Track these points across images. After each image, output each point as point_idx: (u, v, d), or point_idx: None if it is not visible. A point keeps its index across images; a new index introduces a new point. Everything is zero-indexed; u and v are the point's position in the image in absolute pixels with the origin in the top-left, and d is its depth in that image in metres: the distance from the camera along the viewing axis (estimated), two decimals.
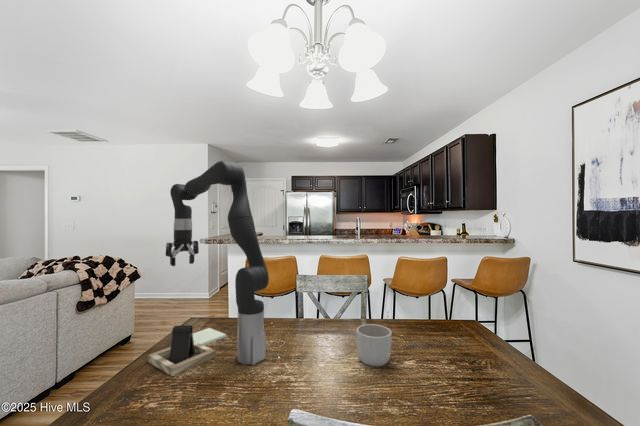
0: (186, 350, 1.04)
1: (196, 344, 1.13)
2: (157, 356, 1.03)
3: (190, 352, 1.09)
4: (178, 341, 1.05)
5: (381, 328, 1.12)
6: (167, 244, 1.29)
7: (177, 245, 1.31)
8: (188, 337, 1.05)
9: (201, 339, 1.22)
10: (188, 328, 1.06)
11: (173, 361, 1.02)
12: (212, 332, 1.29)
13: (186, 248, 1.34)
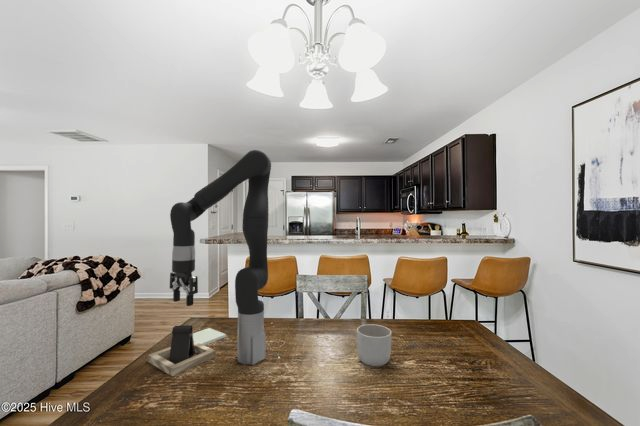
0: (186, 350, 1.04)
1: (196, 344, 1.13)
2: (157, 356, 1.03)
3: (190, 352, 1.09)
4: (178, 341, 1.05)
5: (381, 328, 1.12)
6: (193, 279, 1.03)
7: None
8: (188, 337, 1.05)
9: (201, 339, 1.22)
10: (188, 328, 1.06)
11: (173, 361, 1.02)
12: (212, 332, 1.29)
13: None
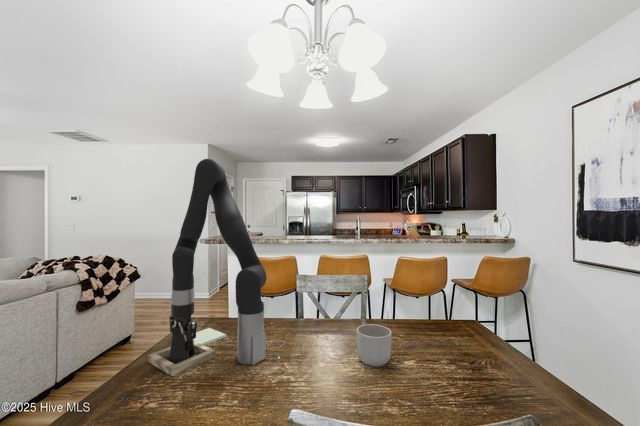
0: None
1: (196, 344, 1.13)
2: (157, 356, 1.03)
3: (190, 352, 1.09)
4: (178, 341, 1.05)
5: (381, 328, 1.12)
6: (192, 325, 1.03)
7: None
8: None
9: (201, 339, 1.22)
10: None
11: (173, 361, 1.02)
12: (212, 332, 1.29)
13: None
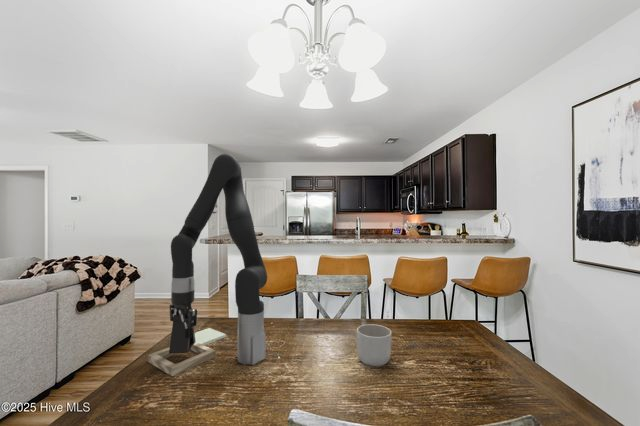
0: (187, 338, 1.04)
1: (196, 344, 1.13)
2: (157, 356, 1.03)
3: (191, 340, 1.09)
4: (178, 329, 1.04)
5: (381, 328, 1.12)
6: (193, 313, 1.02)
7: None
8: None
9: (201, 339, 1.22)
10: (188, 316, 1.06)
11: (174, 349, 1.02)
12: (212, 332, 1.29)
13: None
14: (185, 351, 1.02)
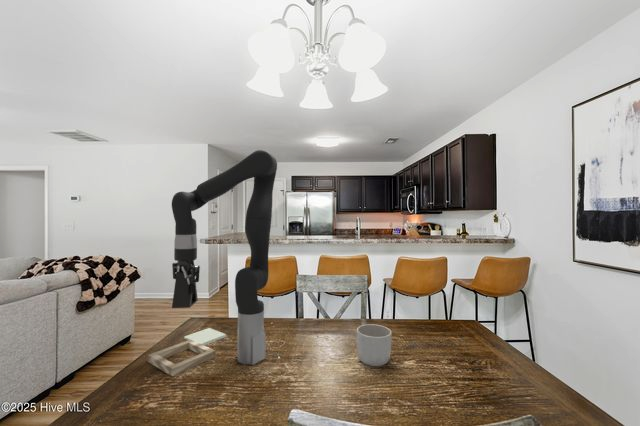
0: None
1: (196, 344, 1.13)
2: (157, 356, 1.03)
3: (193, 298, 1.11)
4: (181, 285, 1.06)
5: (381, 328, 1.12)
6: (195, 268, 1.04)
7: None
8: None
9: (201, 339, 1.22)
10: None
11: (176, 303, 1.04)
12: (212, 332, 1.29)
13: None
14: (188, 306, 1.04)
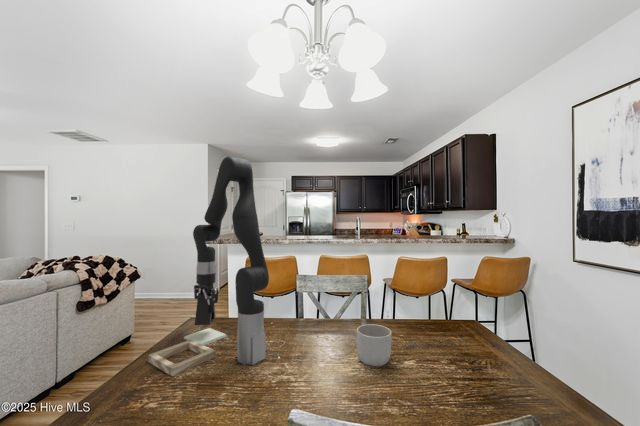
0: None
1: (196, 344, 1.13)
2: (157, 356, 1.03)
3: (212, 316, 1.28)
4: (202, 305, 1.23)
5: (381, 328, 1.12)
6: (215, 291, 1.21)
7: None
8: None
9: (201, 339, 1.22)
10: None
11: (198, 321, 1.21)
12: (212, 332, 1.29)
13: None
14: (208, 323, 1.21)
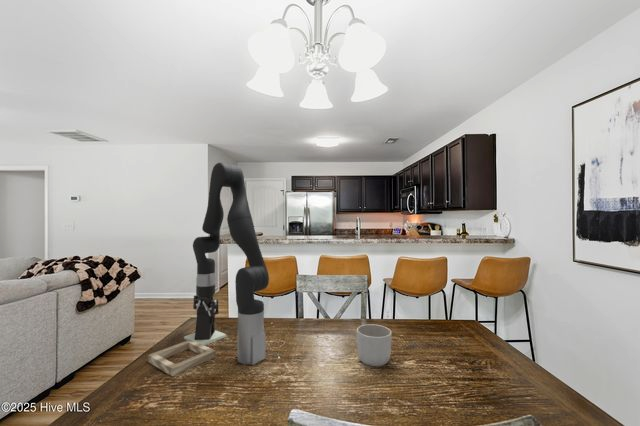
0: (209, 327, 1.23)
1: (196, 344, 1.13)
2: (157, 356, 1.03)
3: (211, 329, 1.28)
4: (202, 319, 1.23)
5: (381, 328, 1.12)
6: (215, 302, 1.21)
7: None
8: None
9: None
10: None
11: (198, 336, 1.21)
12: None
13: None
14: (208, 338, 1.21)
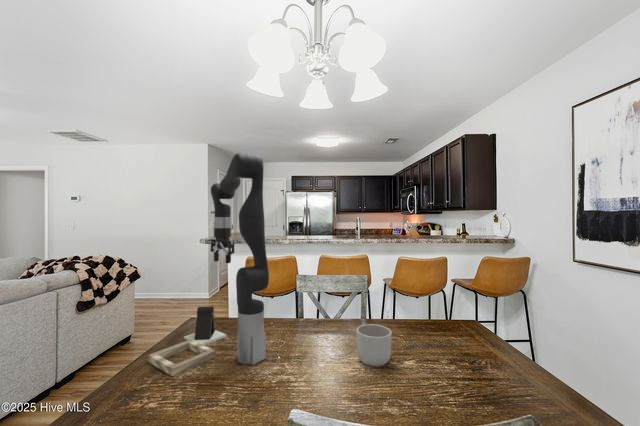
0: (209, 327, 1.23)
1: (196, 344, 1.13)
2: (157, 356, 1.03)
3: (211, 329, 1.28)
4: (202, 319, 1.23)
5: (381, 328, 1.12)
6: (231, 242, 1.33)
7: None
8: (210, 316, 1.24)
9: None
10: (210, 308, 1.25)
11: (198, 336, 1.21)
12: None
13: None
14: (208, 338, 1.21)
